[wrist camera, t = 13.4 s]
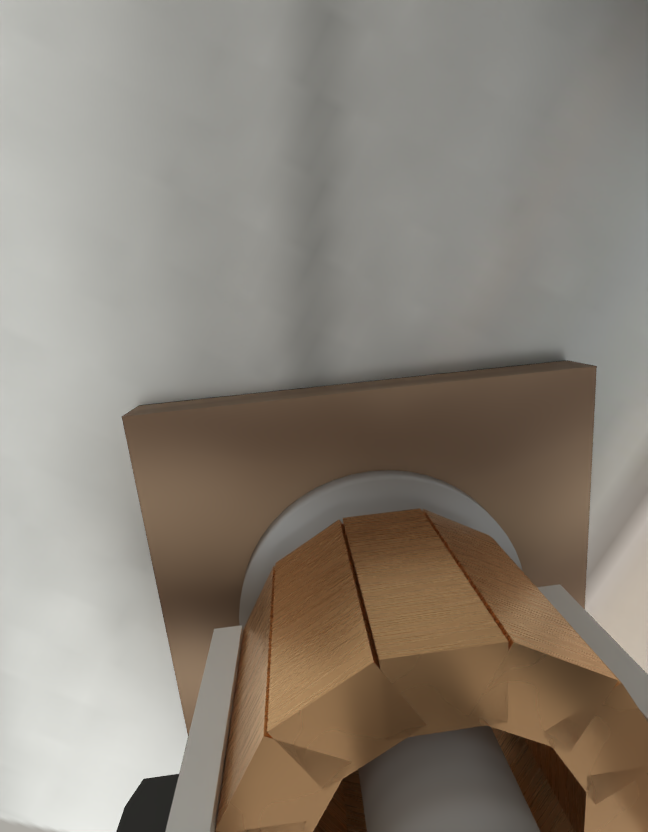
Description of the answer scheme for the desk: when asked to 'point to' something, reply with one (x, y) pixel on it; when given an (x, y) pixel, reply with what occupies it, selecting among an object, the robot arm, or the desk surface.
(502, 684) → the light wood ring
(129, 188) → the desk surface
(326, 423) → the bobbin stand
